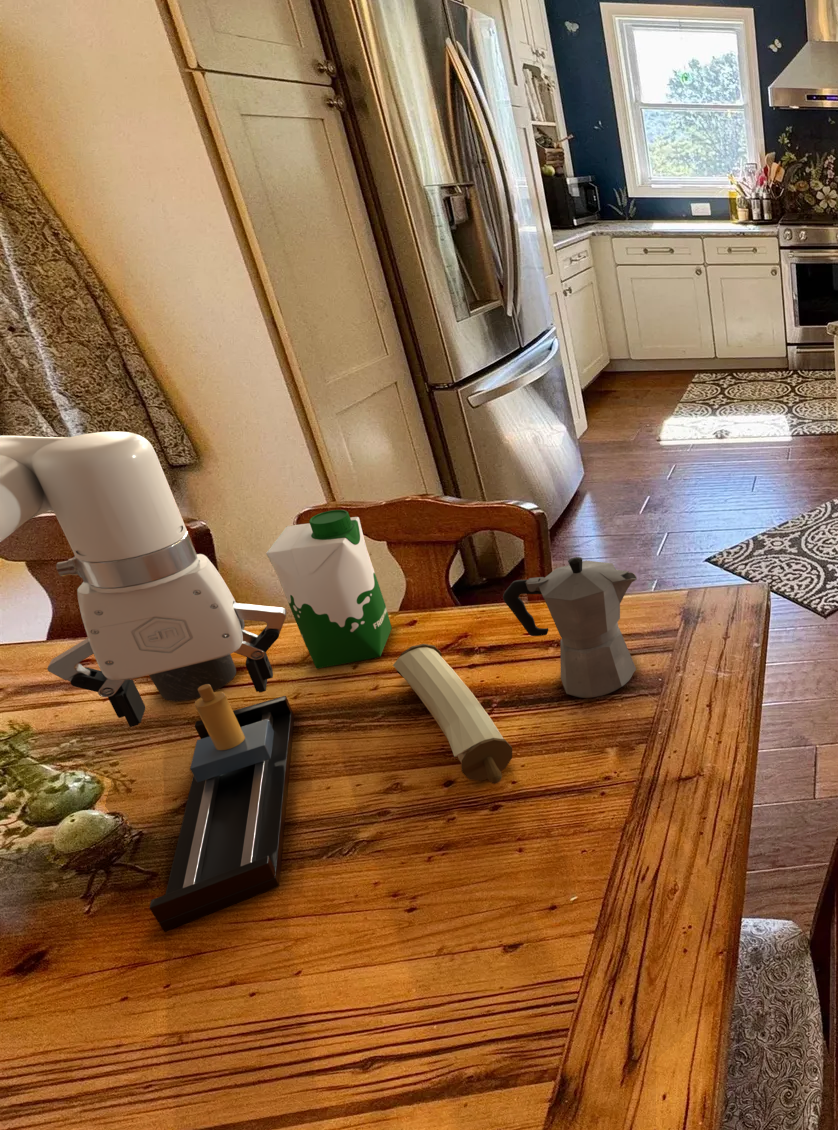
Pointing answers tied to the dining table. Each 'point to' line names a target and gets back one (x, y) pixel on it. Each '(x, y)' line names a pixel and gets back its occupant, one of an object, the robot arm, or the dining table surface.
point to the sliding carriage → (227, 738)
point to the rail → (231, 828)
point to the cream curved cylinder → (456, 713)
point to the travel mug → (194, 678)
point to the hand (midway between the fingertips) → (202, 700)
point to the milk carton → (332, 588)
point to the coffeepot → (582, 623)
